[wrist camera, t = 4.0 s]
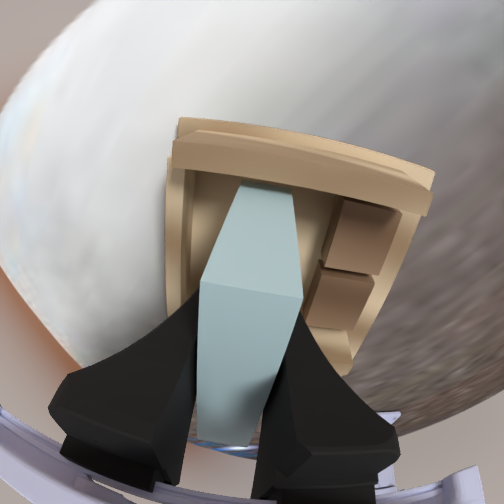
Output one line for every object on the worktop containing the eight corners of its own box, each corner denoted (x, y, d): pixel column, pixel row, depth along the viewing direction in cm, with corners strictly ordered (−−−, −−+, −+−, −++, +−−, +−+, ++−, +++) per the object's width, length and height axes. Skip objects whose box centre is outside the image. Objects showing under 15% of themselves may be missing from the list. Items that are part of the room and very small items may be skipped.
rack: (326, 394, 23) (329, 433, 19) (179, 373, 23) (167, 412, 19) (430, 169, 13) (471, 195, 9) (182, 117, 13) (148, 125, 9)
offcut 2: (348, 314, 17) (352, 330, 16) (302, 307, 17) (304, 325, 16) (368, 268, 15) (375, 283, 14) (318, 259, 15) (321, 275, 14)
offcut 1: (371, 260, 15) (378, 275, 14) (320, 251, 15) (324, 266, 14) (391, 202, 13) (402, 214, 12) (338, 189, 13) (344, 200, 12)
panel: (259, 329, 16) (247, 447, 10) (223, 323, 16) (197, 439, 9) (291, 188, 12) (303, 298, 5) (242, 179, 12) (200, 280, 5)
